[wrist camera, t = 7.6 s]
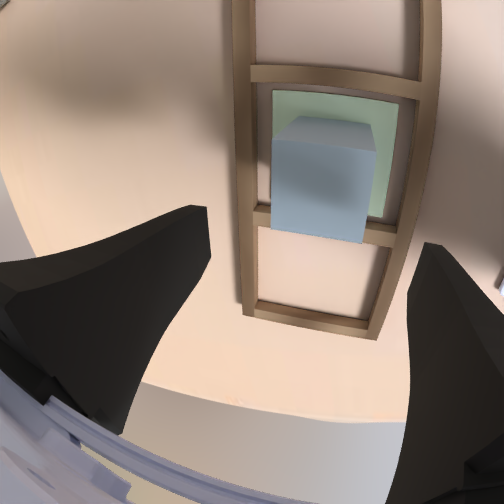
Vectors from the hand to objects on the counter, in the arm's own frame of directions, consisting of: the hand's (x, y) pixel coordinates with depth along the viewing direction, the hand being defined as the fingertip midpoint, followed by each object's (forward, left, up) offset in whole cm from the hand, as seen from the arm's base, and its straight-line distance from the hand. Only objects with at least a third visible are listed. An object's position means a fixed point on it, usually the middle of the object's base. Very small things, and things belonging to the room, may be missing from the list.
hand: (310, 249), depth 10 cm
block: (0, -1, -9) cm, 9 cm away
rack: (0, -1, -9) cm, 9 cm away
